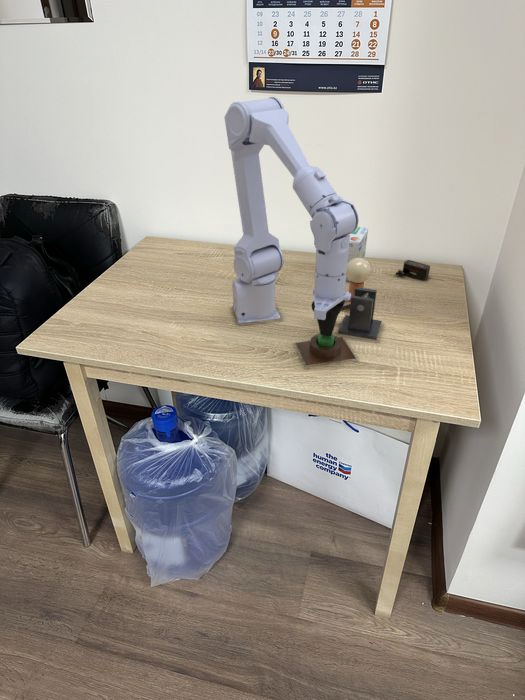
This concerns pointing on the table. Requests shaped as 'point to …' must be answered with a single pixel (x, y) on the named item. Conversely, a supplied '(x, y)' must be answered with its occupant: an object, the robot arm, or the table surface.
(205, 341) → the table surface
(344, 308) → the switch lever
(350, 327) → the switch bracket
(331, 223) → the robot arm
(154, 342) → the table surface
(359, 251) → the light bulb box
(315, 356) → the button block
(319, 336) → the light button
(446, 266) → the table surface
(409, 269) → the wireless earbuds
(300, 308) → the table surface
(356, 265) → the globe lamp
